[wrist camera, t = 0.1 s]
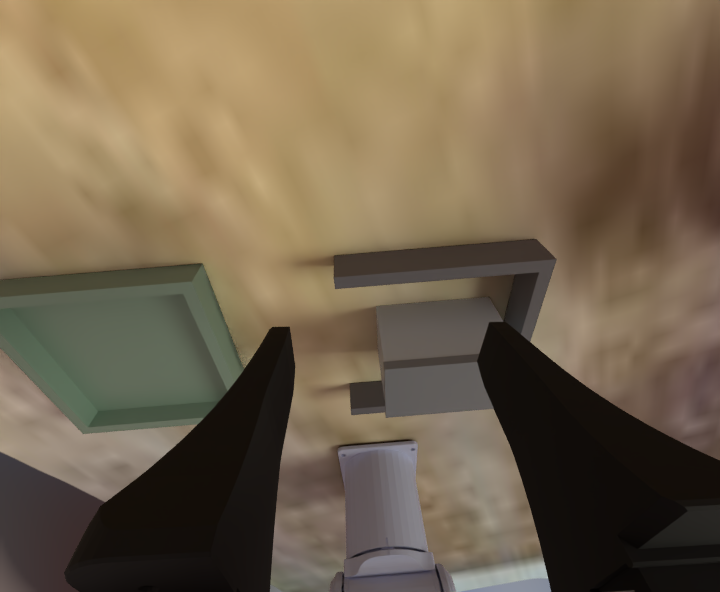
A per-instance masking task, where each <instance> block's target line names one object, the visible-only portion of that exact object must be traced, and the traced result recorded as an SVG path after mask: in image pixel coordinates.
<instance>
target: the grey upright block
mask: <svg viewBox="0 0 720 592" xmlns="http://www.w3.org/2000/svg"><path fill="white" fill-rule="evenodd" d="M376 318H377V340H378V355H379V363H380V370H381V378H382V385H383V393H384V401H385V414H386V418H388V417H400V416H412V415H423V414H435V413H447V412H459V411H471V410H483V409H494V408H493V406H492V403H491V401H490V399H489V397H488V394H487V392H486V390H485V387H484V384H483V381H482V378H481V374H480V371H479V367H478V363H477V359H478V356H479V353H480V350H481V347H482V343H483V340H484V337H485V334H486V330H487V327H488V324H489V322H503V320H502V318H501V317H500V315H499V313H498V312H497V310H496V308H495V306H494V305H493V303H492V301H491V300H490V298H489V297H480V298H468V299H456V300H444V301H432V302H419V303H407V304H395V305H383V306H376Z"/></svg>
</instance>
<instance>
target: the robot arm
mask: <svg viewBox="0 0 720 592" xmlns="http://www.w3.org/2000/svg"><path fill="white" fill-rule="evenodd" d="M477 363H478V367H479V371H480V374H481V378H482V381H483V384H484V387H485V390H486V392H487V394H488V397H489V399H490V401H491V403H492V406H493V408H494V410H495V413H496V415H497V417H498V419H499V422H500V424H501V426H502V428H503V431H504V433H505V435H506V437H507V440H508V442H509V444H510V447H511V449H512V452H513V454H514V457H515V460H516V463H517V466H518V469H519V473H520V476H521V479H522V482H523V485H524V488H525V492H526V495H527V498H528V502H529V505H530V508H531V512H532V515H533V519H534V523H535V527H536V530H537V534H538V538H539V541H540V545H541V549H542V554H543V558H544V562H545V566H546V570H547V574H548V579H549V583H550V588H551V592H720V460H717V459H715V458H713V457H711V456H708V455H706V454H704V453H702V452H700V451H698V450H695V449H693V448H691V447H689V446H687V445H685V444H683V443H681V442H679V441H677V440H675V439H673V438H671V437H669V436H668V435H666V434H664V433H662V432H660V431H658V430H656V429H654V428H653V427H651V426H649V425H647V424H645V423H644V422H642V421H640V420H639V419H637V418H635V417H633V416H632V415H630V414H628V413H626V412H625V411H623V410H621V409H620V408H618V407H617V406H615V405H613V404H612V403H610V402H609V401H607V400H606V399H604V398H603V397H601V396H600V395H598V394H597V393H595V392H594V391H592V390H591V389H589V388H588V387H586V386H585V385H584V384H582V383H581V382H579V381H578V380H577V379H575V378H574V377H573V376H571V375H570V374H569V373H567V372H566V371H565V370H563V369H562V368H561V367H560V366H558V365H557V364H556V363H555V362H553V361H552V360H551V359H550V358H548V357H547V356H546V355H545V354H544V353H542V352H541V351H540V350H539V349H538V348H536V347H535V346H534V345H533V344H532V343H531V342H529V341H528V340H527V339H526V338H525V337H524V336H522V335H521V334H520V333H519V332H518V331H516V330H515V329H514V328H513V327H512V326H510V325H509V324H508V323H507V322H489V324H488V327H487V330H486V334H485V337H484V340H483V343H482V347H481V350H480V353H479V356H478V359H477ZM294 377H295V361H294V354H293V347H292V340H291V333H290V327H272V328H271V329H270V330H269V332H268V333H267V335H266V337H265V338H264V340H263V342H262V343H261V345H260V347H259V348H258V350H257V351H256V353H255V354H254V356H253V357H252V359H251V360H250V362H249V363H248V365H247V366H246V368H245V369H244V370H243V372H242V373H241V375H240V376H239V377H238V378H237V380H236V381H235V382H234V384H233V385H232V386H231V387H230V389H229V390H228V391H227V393H226V394H225V395H224V396H223V397H222V399H221V400H220V401H219V402H218V403H217V404H216V405H215V407H214V408H213V409H212V410H211V411H210V412H209V413H208V414H207V415H206V416H205V417H204V419H203V420H202V421H201V422H200V423H199V424H198V425H197V426H196V427H195V428H194V429H193V430H192V431H191V432H190V433H189V434H188V435H187V436H186V437H184V438H183V439H182V440H181V441H180V442H179V443H178V444H177V445H176V446H175V447H174V448H173V449H171V450H170V451H169V452H168V453H167V454H166V455H164V456H163V457H162V458H161V459H160V460H159V461H158V462H156V463H155V464H154V465H153V466H152V467H151V468H149V469H148V470H147V471H146V472H145V473H143V474H142V475H141V476H140V477H138V478H137V479H136V480H134V481H133V482H132V483H130V484H129V485H128V486H127V487H125V488H124V489H123V490H121V491H120V492H119V493H117V494H116V495H115V496H113V497H112V498H111V499H110V500H108V501H107V502H105V503H104V504H103V505H102V506H100V508H99V510H98V511H97V513H96V515H95V516H94V518H93V519H92V521H91V522H90V524H89V526H88V528H87V529H86V531H85V533H84V535H83V537H82V539H81V541H80V543H79V545H78V546H77V548H76V551H75V552H74V554H73V556H72V558H71V560H70V562H69V564H68V566H67V568H66V570H65V572H64V574H65V579H66V581H67V582H68V583H69V584H70V585H71V586H72V587H73V588H75V589H76V590H78V591H79V592H270V579H271V564H272V550H273V537H274V524H275V512H276V501H277V490H278V480H279V470H280V461H281V455H282V449H283V444H284V439H285V434H286V428H287V423H288V418H289V413H290V408H291V402H292V397H293V390H294ZM417 448H418V445H417V442H416V441H403V442H391V443H379V444H368V445H356V446H344V447H340V448H338V457H339V462H340V467H341V473H342V478H343V483H344V488H345V508H346V559H344V573H343V572H337V573H336V575H335V577H334V578H333V580H332V581H331V583H330V590H329V592H456V590H455V586H454V583H453V580H452V577H451V575H450V573H449V572H448V571H447V570H446V569H445V568H444V566H443V565H442V564H435V563H434V558H433V553H432V552H428V547H427V541H426V536H425V530H424V524H423V519H422V513H421V508H420V502H419V497H418V491H417V485H416V480H415V477H416V462H417Z"/></svg>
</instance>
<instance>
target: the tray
mask: <svg viewBox="0 0 720 592" xmlns="http://www.w3.org/2000/svg"><path fill="white" fill-rule="evenodd" d="M0 348H1V349H2V350H3V351H4V352H5V353H6V354H7V355H8V356H9V357H10V358H11V359H12V360H13V361H14V363H15V364H16V365H17V366H18V367H19V368H20V369H21V370H22V371H23V372H24V373H25V374H26V375H27V376H28V377H29V378H30V379H31V380H32V381H33V382H34V383H35V384H36V385H37V386H38V387H39V389H40V390H41V391H42V392H43V393H44V394H45V395H46V396H47V397H48V398H49V399H50V400H51V401H52V402H53V403H54V404H55V405H56V406H57V407H58V408H59V409H60V410H61V411H62V412H63V413H64V415H65V416H66V417H67V418H68V419H69V420H70V421H71V422H72V423H73V424H74V425H75V426H76V427H77V428H78V429H79V430H80V431H81V432H82V433H83V434H88V433H100V432H112V431H124V430H135V429H147V428H159V427H171V426H183V425H195V424H199V423H200V422H201V421H202V420H203V419H204V417H205V416H206V415H207V414H208V413H209V412H210V411H211V410H212V409H213V408H214V407H215V405H216V404H217V403H218V402H219V401H220V400H221V399H222V397H223V396H224V395H225V394H226V393H227V391H228V390H229V389H230V387H231V386H232V385H233V384H234V382H235V381H236V380H237V378H238V377H239V376H240V375H241V373H242V372H243V370H244V368H243V366H242V363H241V361H240V358H239V356H238V353H237V350H236V348H235V345H234V343H233V340H232V338H231V335H230V333H229V330H228V327H227V325H226V322H225V320H224V317H223V315H222V312H221V309H220V307H219V304H218V302H217V299H216V297H215V294H214V292H213V289H212V286H211V284H210V281H209V279H208V276H207V274H206V271H205V268H204V266H203V264H192V265H179V266H167V267H155V268H143V269H130V270H118V271H106V272H94V273H81V274H69V275H57V276H45V277H32V278H20V279H8V280H0Z"/></svg>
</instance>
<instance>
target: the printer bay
mask: <svg viewBox="0 0 720 592" xmlns="http://www.w3.org/2000/svg"><path fill="white" fill-rule="evenodd" d="M556 260H557V259H556V258H555V257H554V256H553V255H552V254H551V253H550V252H549V251H548V250H547V249H546V248H545V247H544V246H543V245H542V244H541V243H540V242H539V241H538V240H537V239H532V240H520V241H508V242H496V243H483V244H471V245H459V246H447V247H434V248H422V249H410V250H398V251H385V252H373V253H361V254H349V255H336V256H334V283H335V289H341V288H354V287H366V286H378V285H390V284H402V283H414V282H426V281H439V280H451V279H463V278H475V277H487V276H499V275H512V274H515V278H514V282H513V286H512V290H511V294H510V298H509V302H508V306H507V310H506V314H505V318H504V322H507V323H508V324H509V325H510V326H512V327H513V328H514V329H515V330H516V331H518V332H519V333H520V334H521V335H522V336H524V337H525V338H526V339H527V340H528V341H529V342H530V341H531V337H532V334H533V331H534V328H535V325H536V322H537V319H538V316H539V313H540V309H541V306H542V303H543V300H544V297H545V294H546V291H547V288H548V284H549V281H550V278H551V275H552V272H553V269H554V266H555V263H556ZM350 402H351V415H359V414H371V413H383V412H385V401H384V393H383V385H382V381H376V382H364V383H352V384H350Z"/></svg>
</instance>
